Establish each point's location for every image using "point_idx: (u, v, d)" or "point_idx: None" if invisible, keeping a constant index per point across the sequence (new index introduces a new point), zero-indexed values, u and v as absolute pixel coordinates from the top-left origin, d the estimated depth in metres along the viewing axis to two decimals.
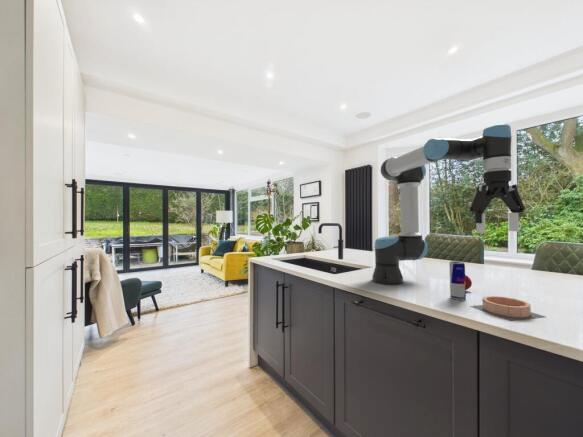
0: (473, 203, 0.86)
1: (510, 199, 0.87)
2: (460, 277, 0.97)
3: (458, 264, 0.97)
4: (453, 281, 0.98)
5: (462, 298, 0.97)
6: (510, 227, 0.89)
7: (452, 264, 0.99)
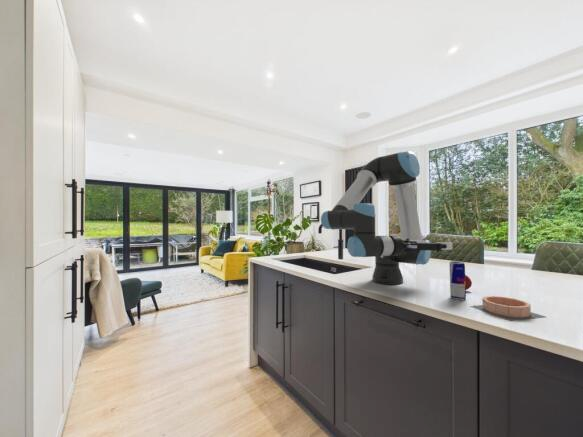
0: None
1: None
2: (460, 277, 0.97)
3: (458, 264, 0.97)
4: (453, 281, 0.98)
5: (462, 298, 0.97)
6: None
7: (452, 264, 0.99)
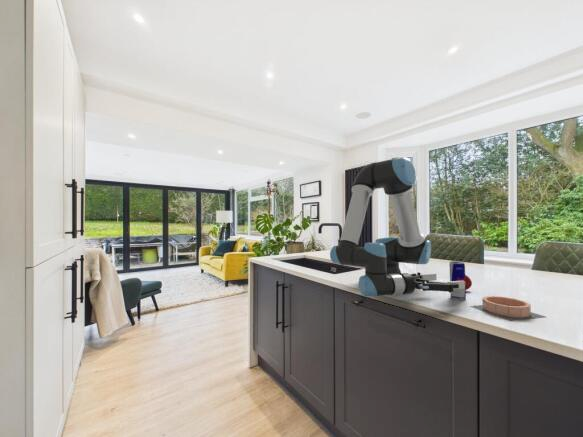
0: None
1: None
2: (460, 277, 0.97)
3: (458, 264, 0.97)
4: None
5: (462, 298, 0.97)
6: None
7: (452, 264, 0.99)
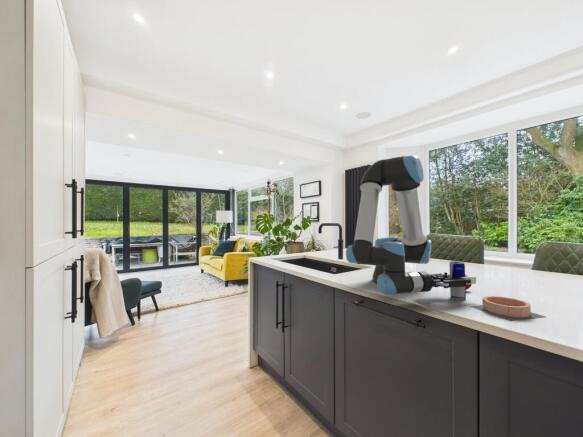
0: None
1: None
2: None
3: (458, 264, 0.97)
4: None
5: (462, 298, 0.97)
6: None
7: (452, 264, 0.99)
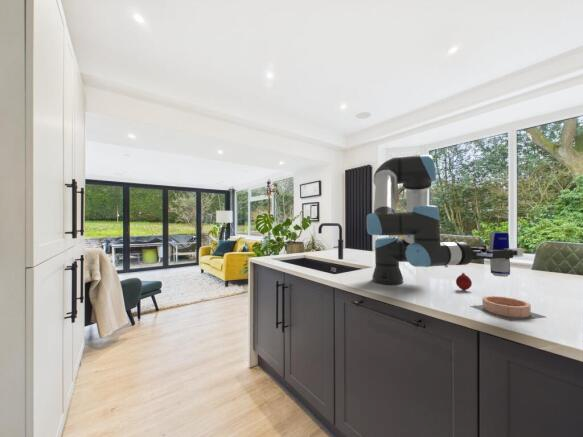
0: None
1: None
2: None
3: (501, 233, 0.83)
4: None
5: (506, 273, 0.82)
6: None
7: (493, 234, 0.85)
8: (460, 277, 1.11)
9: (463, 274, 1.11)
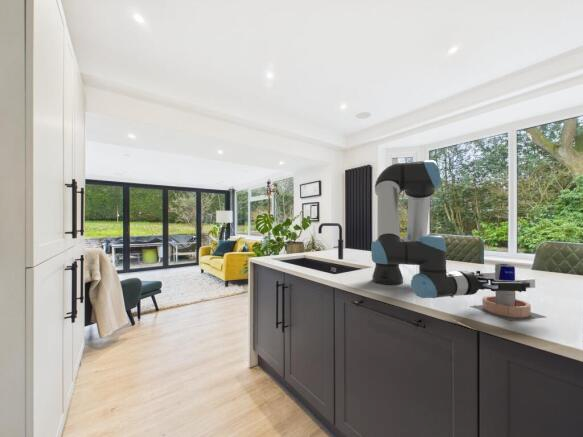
0: None
1: None
2: None
3: (507, 267, 0.82)
4: None
5: None
6: None
7: (499, 267, 0.84)
8: None
9: None
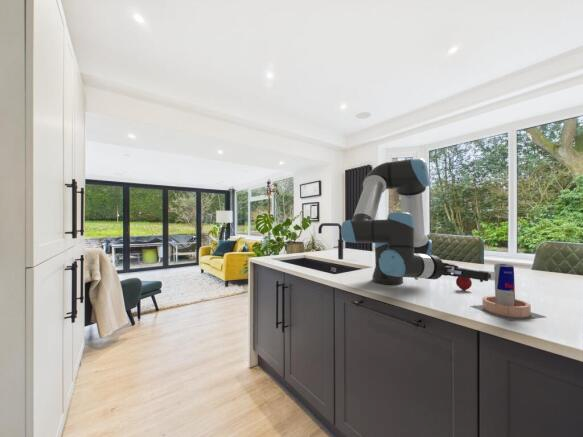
0: None
1: None
2: (509, 283, 0.82)
3: (506, 267, 0.82)
4: (500, 288, 0.83)
5: None
6: None
7: (498, 267, 0.84)
8: (460, 277, 1.11)
9: None
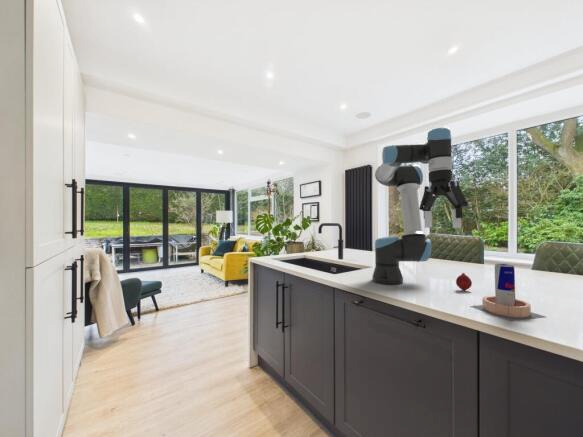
0: None
1: (446, 196, 0.89)
2: (509, 283, 0.82)
3: (507, 267, 0.82)
4: (500, 288, 0.83)
5: None
6: None
7: (499, 267, 0.84)
8: (460, 277, 1.11)
9: (463, 274, 1.11)
